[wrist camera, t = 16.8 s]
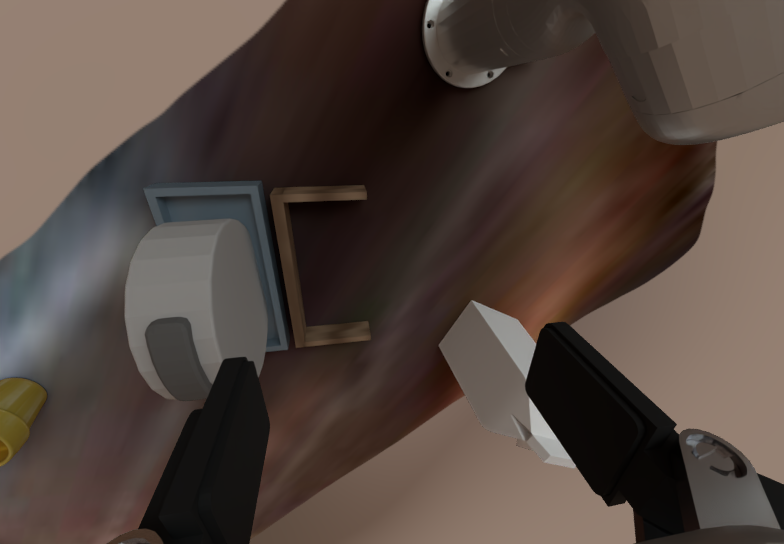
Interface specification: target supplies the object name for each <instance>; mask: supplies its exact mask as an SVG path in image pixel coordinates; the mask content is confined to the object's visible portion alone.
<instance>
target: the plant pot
mask: <svg viewBox="0 0 784 544" xmlns="http://www.w3.org/2000/svg"><path fill="white" fill-rule="evenodd" d="M46 399H47V393H46V391H45V389H44V388H43V387H42V386H41V385H39V384H37V383H36V382H34V381H31V380H28V379H23V378H6V379H3V380H0V466H3V465H4V464H6V463H7V462H9V461H10V460H11V459H12V457H13V456H14V455H15V454H16V453H17V452H18V451H19V449H20V448H21V447H22V446H23V445H24V443H25V442H26V441H27V439H28V438H29V434H30V431H29V429H30V427H31V425H32V423H33V422H34V420H35V418H36V416H37V415H38V413H39V411H40V409H41V408H42V406H43V404H44V403H45V401H46Z"/></svg>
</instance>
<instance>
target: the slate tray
mask: <svg viewBox="0 0 784 544" xmlns="http://www.w3.org/2000/svg"><path fill="white" fill-rule="evenodd" d="M143 190H144V193H145V195H146V198H147V201H148V204H149V207H150V209H151V212H152V215H153V218H154V221H155V223H156V226H158V225H161V224H163V223H168V222H183V221H199V220H214V219H229V218H230V219H235V220H238V221H240V222H241V223H242V224H243V225H244V226H245V227H246V228H247V230H248V232H249V234H250V237H251V241H252V245H253V249H254V253H255V258H256V262H257V266H258V270H259V274H260V278H261V282H262V287H263V291H264V295H265V299H266V303H267V312H268V331H267V343H266V352H270V351H279V350H288V347H289V341H290V335H289V329H288V324H287V318H286V313H285V307H284V302H283V296H282V291H281V285H280V280H279V274H278V269H277V263H276V257H275V252H274V246H273V241H272V235H271V230H270V224H269V219H268V213H267V208H266V202H265V197H264V191H263V185H262V181H227V182H188V183H155V184H153V185H150V186H148V187H146V188H144V189H143Z"/></svg>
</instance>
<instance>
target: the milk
mask: <svg viewBox="0 0 784 544" xmlns="http://www.w3.org/2000/svg"><path fill="white" fill-rule="evenodd" d="M438 346H439V348H440V350H441V351H442V353H443V355H444V357H445V359H446V361H447V363H448V364H449V366H450V368H451V370H452V372H453V374H454V376H455V377H456V379H457V381H458V383H459V385H460V387H461V389H462V390H463V392H464V394H465V396H466V398H467V400H468V402H469V403H470V405H471V407H472V409H473V411H474V413H475V414H476V417H477V418H478V420H479V422H480V424H481V425H482V426H483V427H484V428H485V429H487V430H488V431H490V432H494V433H498V434H502V435H505V436H509V437H513V438H517V446H519V447H522V448H525V449H528V450H533V451H534V452H535V453H536V454H537V455H538V456H539V457H540V459H541V460H542V461H543V462H545V463H550V464H555V465H560V466H565V467H570V468H575V467H576V465H575V464H574V462H573V461H572V459H571V458H570V456H569V455H568V453H567V452H566V451H565V449H564V448H563V446H562V445H561V443H560V442H559V440H558V439H557V437H556V436H555V434H554V433H553V432H552V430H551V429H550V427H549V426H548V424H547V423H546V421H545V420H544V418H543V417H542V415H541V414H540V412H539V411H538V410H537V408H536V407H535V405H534V404H533V402H532V401H531V399H530V398H529V396H528V395H527V393H526V390H525V382H526V378H527V375H528V371H529V368H530V365H531V361H532V358H533V354H534V351H535V347H536V343H535V342H534V340H533V339H532V338H531V337H530V335H529V334H528V333H527V331H526V330H525V329H524V327H523V326H522V325H521V324H520V322H519V321H518V320H517V319H515V318H512V317H510V316H508V315H505V314H503V313H501V312H498V311H496V310H494V309H491V308H489V307H486V306H484V305H482V304H479V303H477V302H475V301H472V300H471V301H470V302H469V304H468V305H467V307H466V308H465V309H464V311H463V312H462V314H461V315H460V316H459V318H458V319H457V320H456V322H455V323H454V325H453V326H452V327H451V329H450V330H449V331H448V333H447V334H446V336H445V337H444V338H443V340H442V341H441V343H440V344H439V345H438Z"/></svg>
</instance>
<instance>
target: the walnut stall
mask: <svg viewBox="0 0 784 544" xmlns="http://www.w3.org/2000/svg"><path fill="white" fill-rule="evenodd" d="M365 199H367V191H366V189H365V187H364V185H352V186H317V187H283V188H274V189H273V191H272V192H271V194H270V200H271V205H272V211H273V217H274V223H275V229H276V234H277V240H278V246H279V252H280V258H281V263H282V269H283V275H284V281H285V287H286V292H287V298H288V304H289V310H290V316H291V322H292V327H293V333H294V339H295V345H296V348H300V347H309V346H319V345H328V344H337V343H347V342H356V341H365V340H371V334H370V329H369V323H368V321H363V322H352V323H342V324H332V325H322V326H312V327H306V322H305V315H304V308H303V301H302V294H301V287H300V281H299V274H298V267H297V260H296V253H295V247H294V240H293V233H292V226H291V219H290V212H289V206H288V202H310V201H337V200H365Z"/></svg>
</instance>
